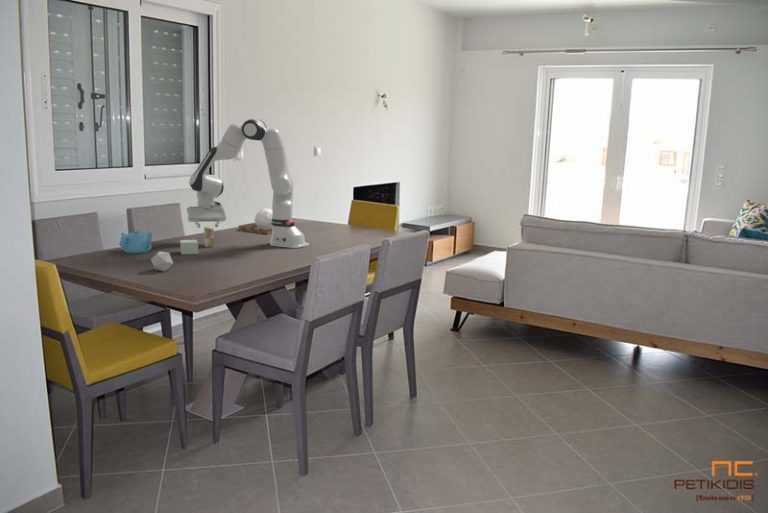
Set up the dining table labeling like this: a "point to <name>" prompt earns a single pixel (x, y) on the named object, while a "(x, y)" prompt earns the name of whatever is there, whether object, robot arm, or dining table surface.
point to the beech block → (209, 236)
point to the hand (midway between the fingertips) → (207, 226)
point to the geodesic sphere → (264, 218)
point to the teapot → (135, 242)
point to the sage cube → (188, 246)
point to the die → (162, 261)
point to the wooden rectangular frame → (254, 228)
